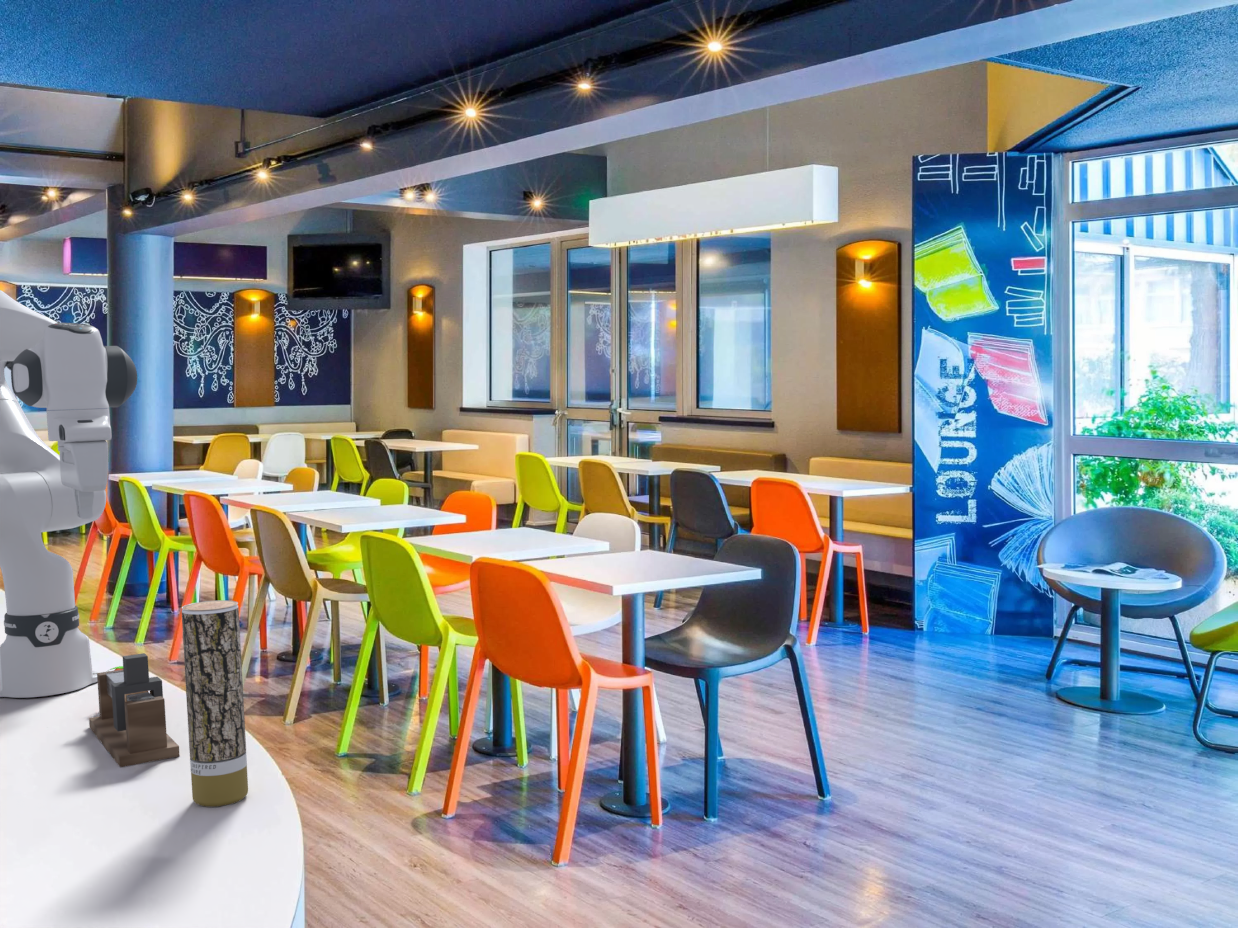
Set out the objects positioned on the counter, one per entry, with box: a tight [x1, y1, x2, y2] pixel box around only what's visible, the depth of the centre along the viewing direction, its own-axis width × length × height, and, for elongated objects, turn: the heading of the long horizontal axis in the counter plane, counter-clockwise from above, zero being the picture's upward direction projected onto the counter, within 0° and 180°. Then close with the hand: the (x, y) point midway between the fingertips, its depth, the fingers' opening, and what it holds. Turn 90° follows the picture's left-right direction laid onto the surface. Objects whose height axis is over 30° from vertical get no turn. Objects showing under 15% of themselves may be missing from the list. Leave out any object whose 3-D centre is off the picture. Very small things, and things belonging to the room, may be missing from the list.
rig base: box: [88, 669, 180, 768], centre depth 180 cm, size 25×8×8 cm, turn 33°
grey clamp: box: [111, 652, 164, 732], centre depth 175 cm, size 3×6×10 cm, turn 123°
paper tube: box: [181, 599, 249, 808], centre depth 152 cm, size 7×7×25 cm
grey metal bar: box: [106, 671, 155, 702], centre depth 180 cm, size 22×3×3 cm, turn 33°
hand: (85, 517), depth 186 cm, fingers closed
